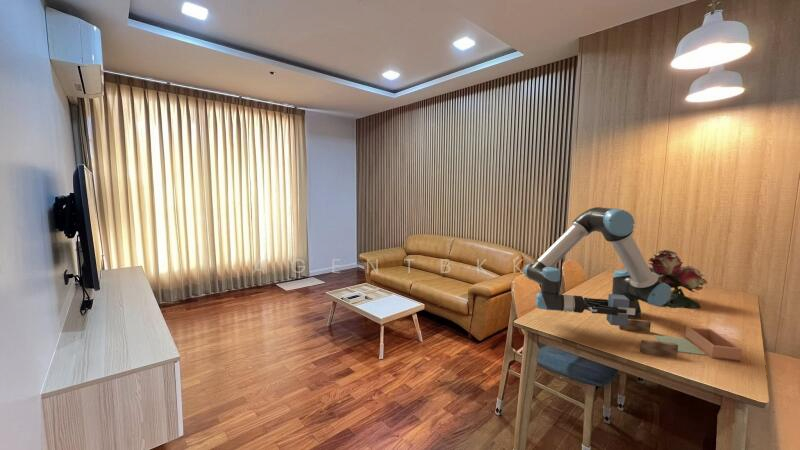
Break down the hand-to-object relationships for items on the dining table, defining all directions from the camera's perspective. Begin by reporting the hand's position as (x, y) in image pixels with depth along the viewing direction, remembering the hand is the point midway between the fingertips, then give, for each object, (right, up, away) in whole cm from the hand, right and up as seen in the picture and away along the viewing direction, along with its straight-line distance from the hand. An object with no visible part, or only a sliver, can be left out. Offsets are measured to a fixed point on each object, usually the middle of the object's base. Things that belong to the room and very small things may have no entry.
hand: (631, 308), depth 141 cm
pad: (+18, -15, -3) cm, 23 cm away
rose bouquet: (+58, -8, +51) cm, 77 cm away
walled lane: (+6, -14, 0) cm, 15 cm away
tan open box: (+29, -15, -6) cm, 33 cm away
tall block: (-5, -7, +2) cm, 9 cm away
